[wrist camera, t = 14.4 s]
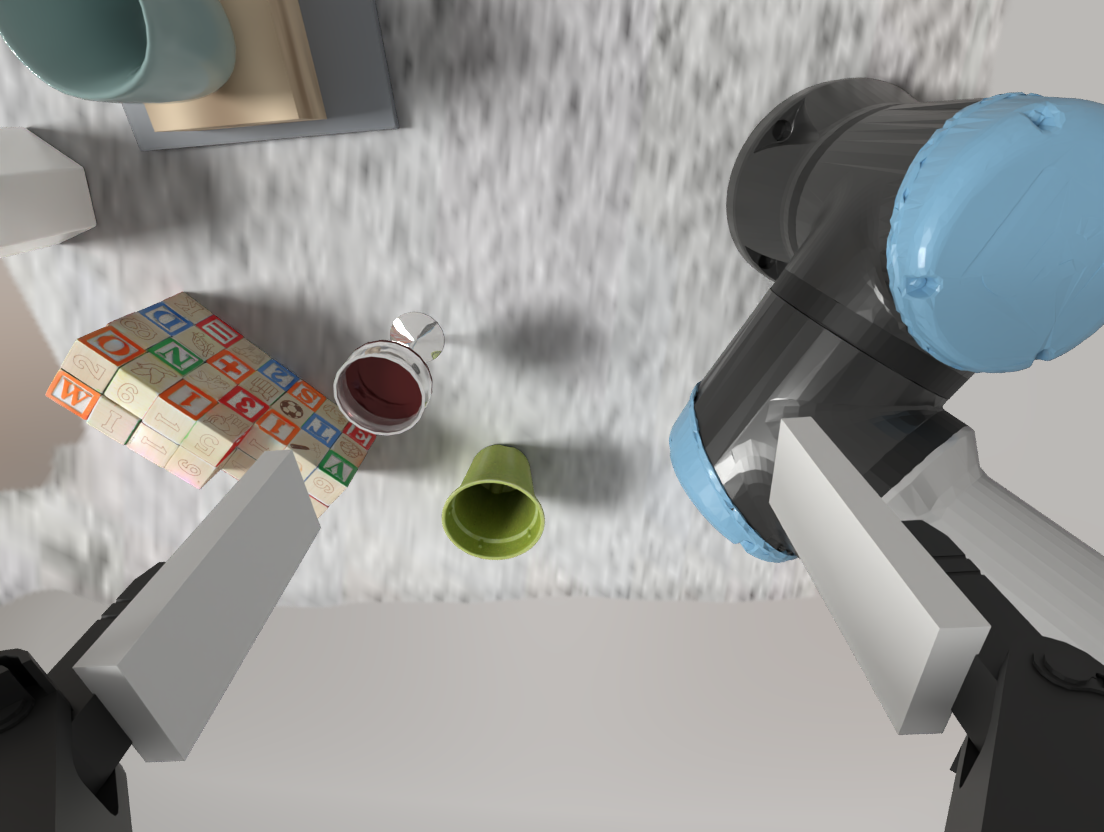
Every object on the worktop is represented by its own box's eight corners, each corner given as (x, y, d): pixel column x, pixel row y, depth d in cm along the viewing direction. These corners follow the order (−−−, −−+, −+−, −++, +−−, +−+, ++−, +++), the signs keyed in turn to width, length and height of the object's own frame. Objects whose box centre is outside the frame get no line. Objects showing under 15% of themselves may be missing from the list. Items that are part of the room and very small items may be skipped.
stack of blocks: (379, 434, 55) (336, 510, 44) (345, 470, 57) (295, 551, 46) (182, 289, 48) (72, 338, 37) (151, 337, 50) (39, 396, 39)
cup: (167, 117, 36) (41, 116, 27) (100, -28, 32) (-71, -85, 23) (276, 93, 35) (183, 84, 26) (220, -59, 32) (90, -128, 23)
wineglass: (375, 361, 51) (328, 423, 40) (385, 293, 48) (336, 341, 37) (446, 379, 52) (417, 445, 41) (460, 314, 48) (433, 367, 38)
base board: (360, -77, 36) (355, -82, 35) (399, 128, 41) (395, 128, 40) (72, -46, 37) (60, -50, 36) (149, 150, 42) (140, 151, 41)
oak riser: (284, -54, 35) (246, -79, 31) (327, 119, 40) (298, 118, 36) (139, -38, 36) (81, -61, 32) (198, 130, 41) (154, 131, 36)
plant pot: (563, 478, 57) (564, 533, 49) (492, 517, 60) (483, 574, 52) (511, 414, 53) (504, 462, 46) (438, 458, 56) (419, 511, 48)
